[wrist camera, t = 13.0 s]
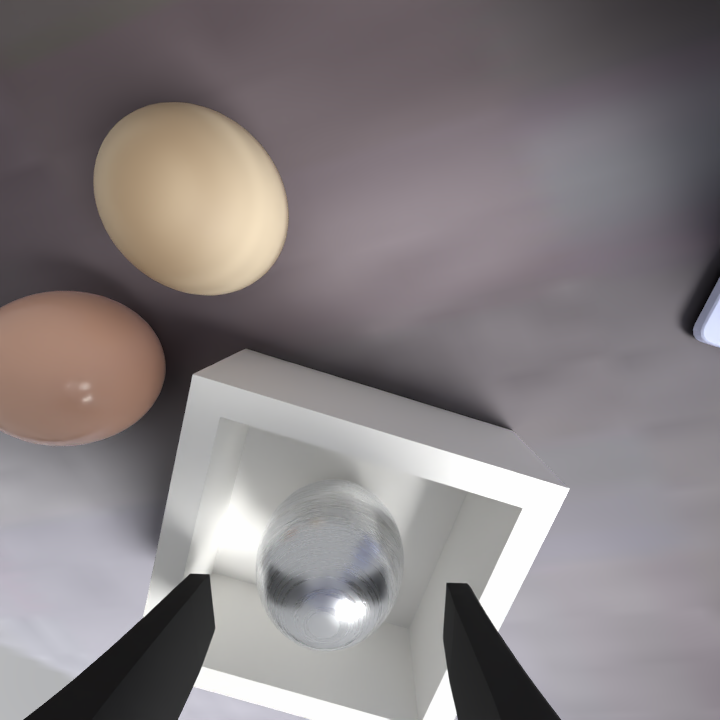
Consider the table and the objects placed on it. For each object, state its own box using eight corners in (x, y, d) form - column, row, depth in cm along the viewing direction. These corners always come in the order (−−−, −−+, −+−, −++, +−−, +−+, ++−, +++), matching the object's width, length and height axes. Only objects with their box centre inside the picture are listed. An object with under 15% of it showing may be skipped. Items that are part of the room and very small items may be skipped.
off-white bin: (513, 430, 14) (569, 488, 10) (420, 640, 16) (436, 754, 12) (245, 348, 13) (192, 374, 9) (192, 574, 16) (132, 669, 12)
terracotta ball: (203, 312, 13) (103, 327, 8) (180, 426, 14) (78, 500, 9) (77, 273, 13) (-101, 264, 8) (63, 392, 14) (-102, 447, 9)
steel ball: (388, 447, 14) (405, 538, 9) (401, 553, 15) (423, 686, 10) (265, 462, 14) (214, 560, 9) (287, 566, 15) (252, 705, 10)
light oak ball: (319, 173, 12) (281, 94, 7) (284, 310, 13) (230, 324, 8) (181, 129, 12) (46, 18, 7) (158, 271, 13) (26, 261, 8)
